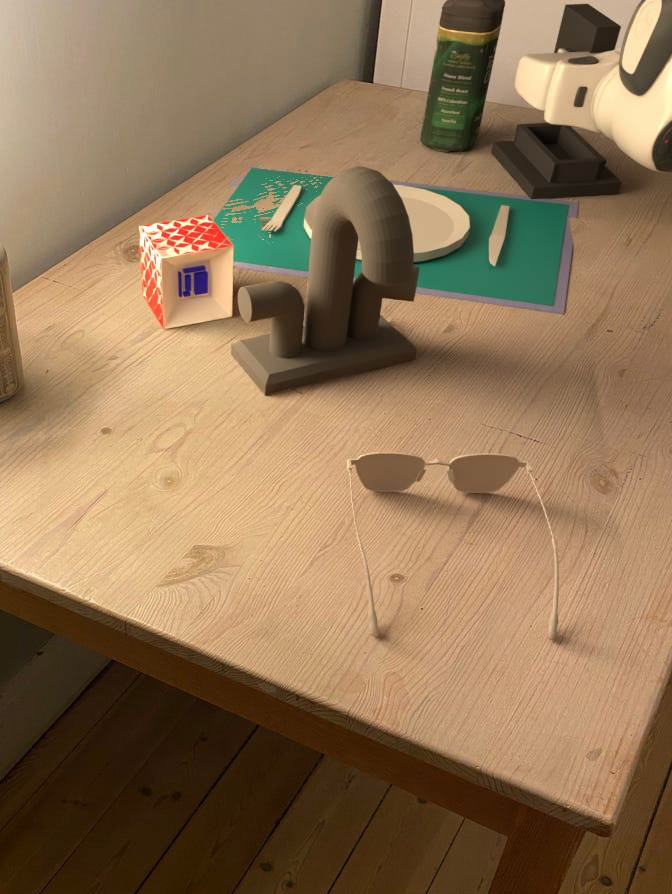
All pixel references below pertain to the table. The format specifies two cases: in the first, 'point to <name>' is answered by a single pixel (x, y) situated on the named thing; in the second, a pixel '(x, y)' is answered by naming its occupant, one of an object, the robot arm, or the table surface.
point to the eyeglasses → (465, 476)
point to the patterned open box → (186, 271)
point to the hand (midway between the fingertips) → (578, 54)
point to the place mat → (423, 238)
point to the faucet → (336, 291)
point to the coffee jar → (461, 73)
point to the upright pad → (586, 30)
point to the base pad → (555, 163)
